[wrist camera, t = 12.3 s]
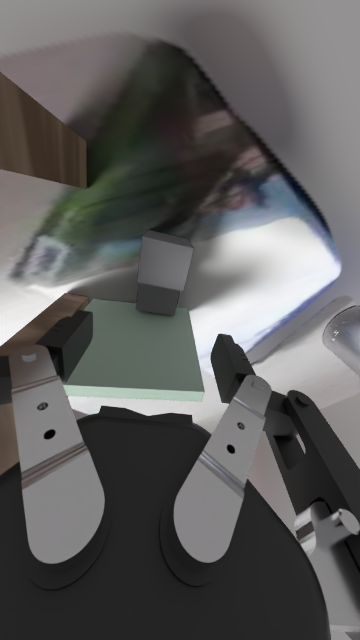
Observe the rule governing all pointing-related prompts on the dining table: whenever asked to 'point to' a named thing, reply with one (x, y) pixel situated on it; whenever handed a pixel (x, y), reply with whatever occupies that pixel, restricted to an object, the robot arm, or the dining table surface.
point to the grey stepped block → (162, 271)
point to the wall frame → (47, 163)
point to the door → (138, 355)
